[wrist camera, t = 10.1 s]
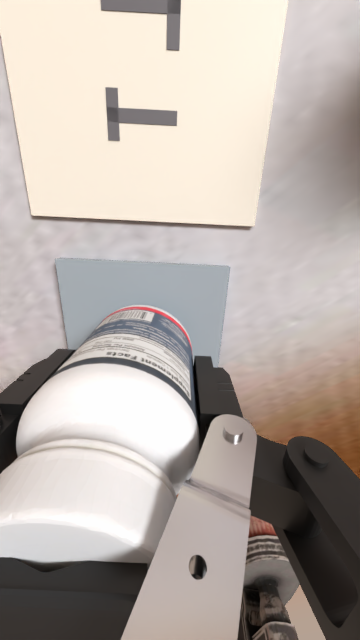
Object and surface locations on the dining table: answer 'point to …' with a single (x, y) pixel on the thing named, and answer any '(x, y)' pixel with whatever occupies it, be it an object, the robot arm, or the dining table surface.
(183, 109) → the tile
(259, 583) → the lighter
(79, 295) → the rubber mat
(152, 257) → the dining table surface
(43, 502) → the pill bottle
